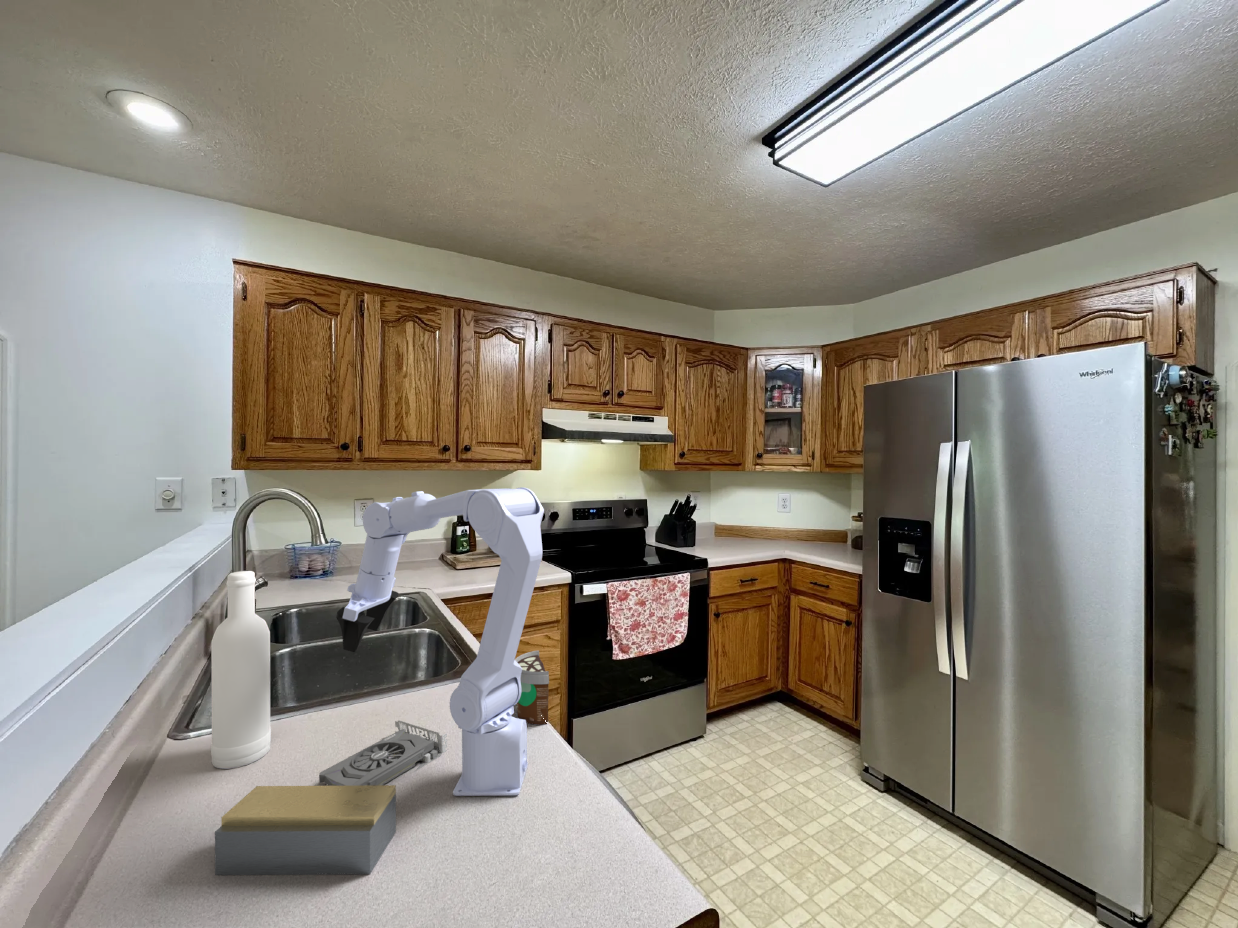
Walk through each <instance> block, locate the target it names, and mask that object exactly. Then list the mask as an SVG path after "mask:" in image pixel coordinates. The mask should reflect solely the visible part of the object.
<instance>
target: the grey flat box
mask: <svg viewBox="0 0 1238 928" xmlns="http://www.w3.org/2000/svg"><path fill="white" fill-rule="evenodd" d="M396 787H397V786H396V785H395V784H394V785H391V784H390V785H387V784H384V785H370V786H328V785H256V786H255V787H253V789H252V790H251V791H250V792H248V793H247V794H246V795H245V796H244V797H243V798H241V799H240V800H239V801H238V802H237V803H236V804H235V805H234V806H233V807H231V808H230V809H229V810H228V811H226V813H224V814H223V815H222V816H221V820H220V823H221V826H220V827H218V828H217V829H216V830H215V831H214V876H245V875H246V876H251V875H253V876H256V875H257V876H258V875H259V876H260V875H261V876H263V875H264V876H267V875H268V876H272V875H273V876H275V875H276V876H277V875H279V876H280V875H285V876H287V875H289V876H290V875H294V876H295V875H304V876H306V875H309V876H310V875H371V873H372V872H373V870H374V869H375V867H376V866H377V864H378V862H379V861H380V860H381V859H380V858H381V857H382V855H383V853H385V850H386V849H387V848H388V846H389V844H390V842H391V841H392V839H393V837H394V836H395V834H396V833H397V796H396V795H397V794H396V793H397V788H396Z"/></svg>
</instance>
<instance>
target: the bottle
mask: <svg viewBox="0 0 1238 928" xmlns="http://www.w3.org/2000/svg"><path fill="white" fill-rule="evenodd" d="M255 573H256V572H254V571H253V570H239V571H235V572H231V573H229V574H228V575H227V580H226V583H225V585H226V587H227V617H226V618H225V619H224V620H223V621H222V622H221V623H219V624H218V626H217V627H216V629H215V631H214V634H213V637H212V638H211V639H212V640H211V642H210V643H211V645H210V646H211V651H210V652H211V653H210V654H211V744H210V755H211V756H210V757H211V764H212V766H213V767H215V768H217V769H221V770H222V769H223V770H224V769H225V770H229V769H235V768H236V769H237V768H240V767H244V766H247V765H250V764H252V763H255V762H256V761H259V760H261V758H264V757H265V756H266V755H267V754H268V752H270V750H271V739H272V729H271V631H270V629H269V626H268V623H267V622H266V620H265V619H264V618H262V617H261V616H259V615H258V614H257V613H256V606H255V605H256V604H255V603H256V598H255V597H256V591H255V590H256V588H255V587H256V585H255V584H256V581H257V579H256V577H255V575H256V574H255Z"/></svg>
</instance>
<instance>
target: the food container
mask: <svg viewBox="0 0 1238 928" xmlns="http://www.w3.org/2000/svg"><path fill="white" fill-rule="evenodd" d="M515 661H516V662H517V663H518V664H519V665H520V666H521V668H522V673H521V678H520V681H521V697H520V699H519V701H518V702H517V703H516V712H517V714H516V715H517V718H518V719H524V720H526V724H528V725H529V724H530V725H536V726H537V725H539V726H541V725H542V726H543V725H544V726H545V725H548V724H547V723H546V722H548V723H549V684H550V675H549V671H547V670H546V669H545V666H544V663H543V661H542V660H541V657H540V650H533V651H529V652H526V653H523V654H520V655H519V656H517V657H515ZM541 715H542V716H541ZM543 718H544V719H543ZM545 720H546V722H545Z"/></svg>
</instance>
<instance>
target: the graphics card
mask: <svg viewBox="0 0 1238 928" xmlns="http://www.w3.org/2000/svg"><path fill="white" fill-rule="evenodd" d="M394 726H395V728H397V730H395V731H394V733H391V734H389V735H388V736H386V737H384V738H382V739H380V740H379V741H377V742H375V743H373V744H371V745H369V746H367V747H365V748H363V749H361V750H360V751H358V752H356V753H354V754H352V755H350V756H348V757H346V758H345V759H343V760H341V761H339V762H337V763H335V764H333V765H331V766H330V767H327V768H326V769H324V770H322V771H319V774H318V778H319V779H318V781H319V784H322V783H324V784H326V786H370V785H386V784H387V783H389V782H390V781H392V780H393V779H395V778H397V777H399V776H400V775H402V774H404V773H405V772H407V771H409V770H410V769H412V768H414V767H415V766H416V763H417V762H421V763H420V764H419V766H418V767H417V768H416V769H415V770H414V772H417V771H419V770H420V769H422V768H424V767H425V766H426V765H428V764H430V763H431V762H433V761H435V760H436V759H438V758H439V757H442V754H444V753H445V752H447V751H448V749H447V748H448V738H447V737H448V733H447V732H444V733H443V734H440V732H437V731H435V730H431V729H428V728H426V727H425V728H424V727H421V726H418V725H415V724H413V723H410V722H406V721H404V720H400V719H398V720H397V721H396V720H395V721H394ZM414 733H415V734H414ZM422 733H423V734H422ZM421 734H422V735H421Z"/></svg>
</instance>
